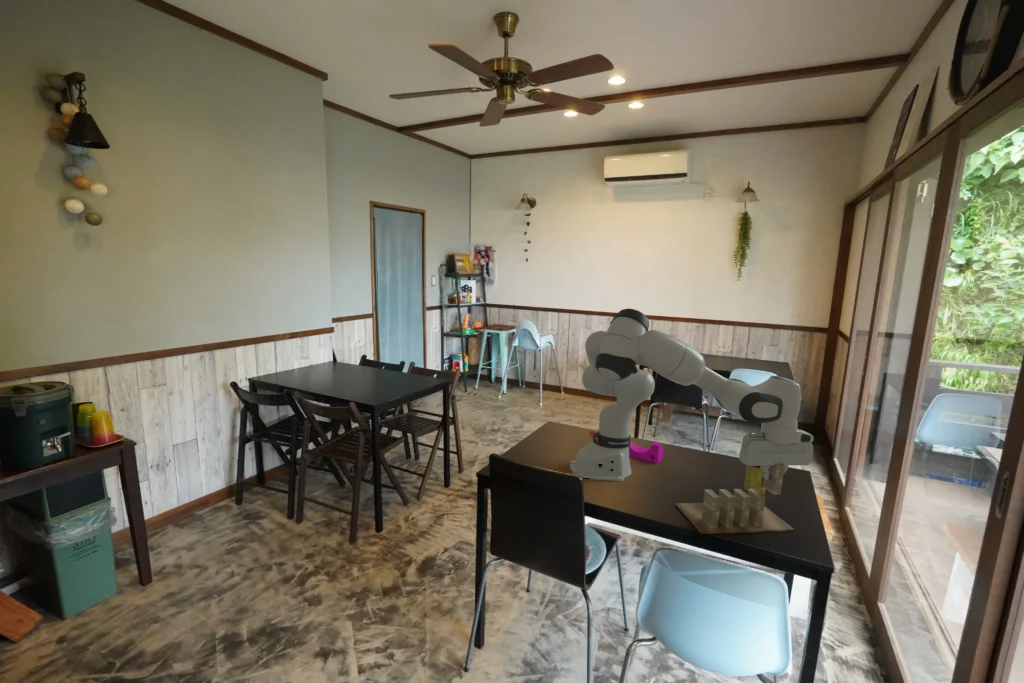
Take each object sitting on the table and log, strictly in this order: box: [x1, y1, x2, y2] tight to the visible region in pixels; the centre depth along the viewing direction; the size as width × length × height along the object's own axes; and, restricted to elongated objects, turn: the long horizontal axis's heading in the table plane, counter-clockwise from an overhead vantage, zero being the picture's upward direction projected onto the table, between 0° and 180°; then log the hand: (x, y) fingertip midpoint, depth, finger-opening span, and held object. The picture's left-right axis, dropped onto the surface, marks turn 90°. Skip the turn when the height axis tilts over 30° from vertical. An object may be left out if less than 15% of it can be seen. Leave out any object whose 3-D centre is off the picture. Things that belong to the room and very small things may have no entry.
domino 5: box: [763, 464, 784, 496], centre depth 132 cm, size 2×5×9 cm, turn 6°
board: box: [674, 502, 795, 535], centre depth 137 cm, size 28×16×1 cm, turn 96°
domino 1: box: [702, 488, 721, 527], centre depth 132 cm, size 2×5×9 cm, turn 6°
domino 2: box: [718, 488, 736, 527], centre depth 132 cm, size 2×5×9 cm, turn 6°
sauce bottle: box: [743, 465, 767, 497], centre depth 150 cm, size 7×6×20 cm
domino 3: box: [732, 488, 751, 527], centre depth 133 cm, size 2×5×9 cm, turn 6°
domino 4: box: [748, 489, 766, 526], centre depth 133 cm, size 2×5×9 cm, turn 6°
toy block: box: [629, 440, 664, 464], centre depth 181 cm, size 15×6×8 cm, turn 54°
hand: (772, 478), depth 132 cm, fingers closed on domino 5, 2 cm apart
